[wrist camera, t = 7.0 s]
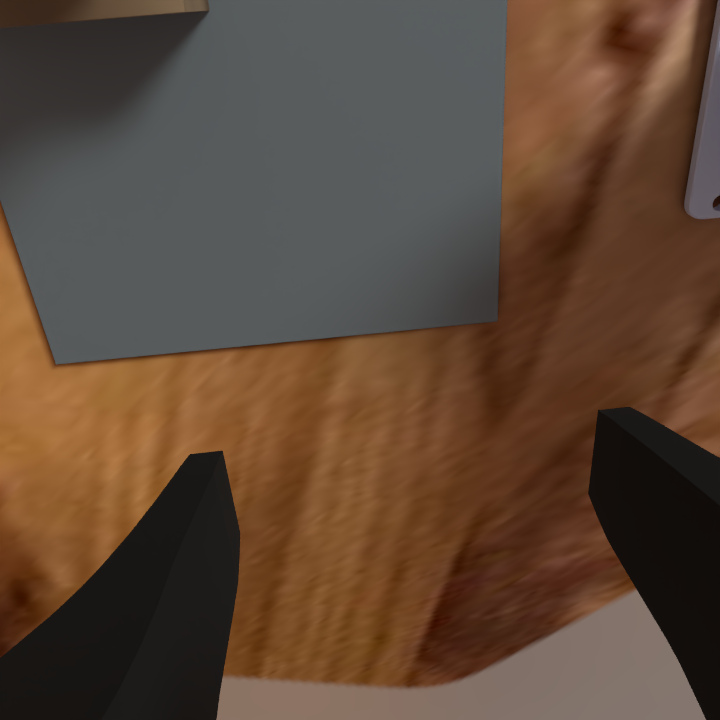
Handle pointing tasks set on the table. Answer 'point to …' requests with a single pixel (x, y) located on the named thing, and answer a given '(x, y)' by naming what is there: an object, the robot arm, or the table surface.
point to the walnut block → (88, 10)
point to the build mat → (255, 172)
